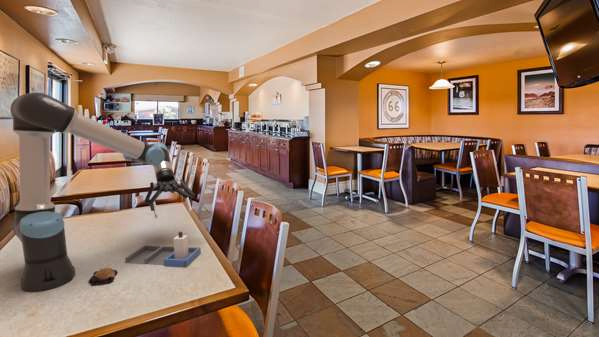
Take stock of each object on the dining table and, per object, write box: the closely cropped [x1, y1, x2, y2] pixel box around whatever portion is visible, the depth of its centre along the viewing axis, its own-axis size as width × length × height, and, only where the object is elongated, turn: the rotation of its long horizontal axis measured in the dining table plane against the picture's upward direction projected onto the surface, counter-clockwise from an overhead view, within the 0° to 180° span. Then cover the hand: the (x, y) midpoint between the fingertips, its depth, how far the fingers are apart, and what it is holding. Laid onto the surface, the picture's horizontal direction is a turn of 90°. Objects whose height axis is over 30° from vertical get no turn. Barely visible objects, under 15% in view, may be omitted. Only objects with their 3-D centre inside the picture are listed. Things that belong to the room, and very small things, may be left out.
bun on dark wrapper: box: [88, 267, 118, 287], centre depth 116 cm, size 11×8×4 cm
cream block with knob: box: [173, 231, 189, 259], centre depth 131 cm, size 4×4×11 cm
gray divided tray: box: [124, 244, 202, 268], centre depth 132 cm, size 14×25×3 cm, turn 83°
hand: (173, 214), depth 138 cm, fingers open, 13 cm apart
